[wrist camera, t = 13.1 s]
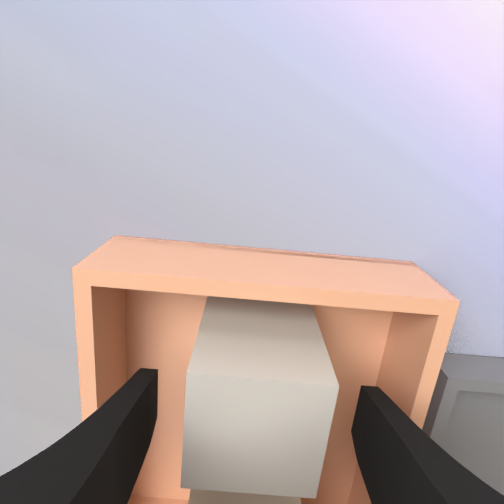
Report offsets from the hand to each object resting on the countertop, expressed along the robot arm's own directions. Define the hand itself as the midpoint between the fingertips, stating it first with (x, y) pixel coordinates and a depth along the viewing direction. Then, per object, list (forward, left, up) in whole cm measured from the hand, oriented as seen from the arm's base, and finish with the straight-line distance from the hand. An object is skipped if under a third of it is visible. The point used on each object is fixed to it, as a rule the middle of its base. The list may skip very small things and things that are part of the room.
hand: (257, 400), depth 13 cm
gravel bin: (-4, 0, -5) cm, 6 cm away
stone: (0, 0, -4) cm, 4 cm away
